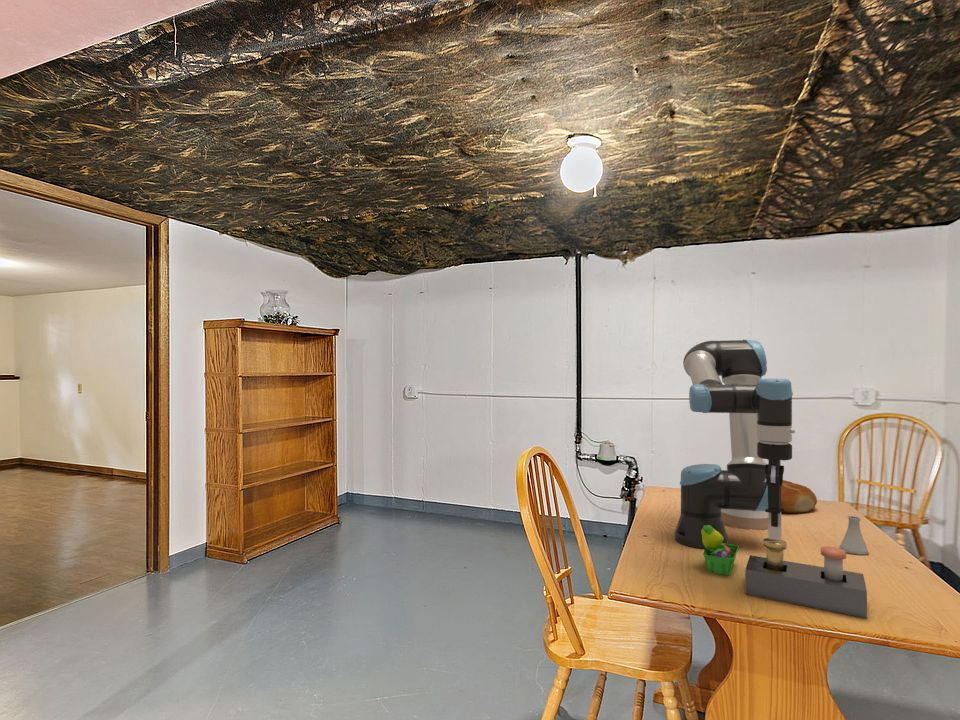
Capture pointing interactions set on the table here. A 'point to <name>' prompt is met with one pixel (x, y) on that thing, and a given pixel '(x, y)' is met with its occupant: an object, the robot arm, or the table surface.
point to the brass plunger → (775, 553)
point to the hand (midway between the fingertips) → (774, 538)
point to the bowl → (745, 519)
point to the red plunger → (833, 563)
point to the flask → (854, 538)
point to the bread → (796, 498)
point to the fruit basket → (717, 551)
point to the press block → (807, 587)
